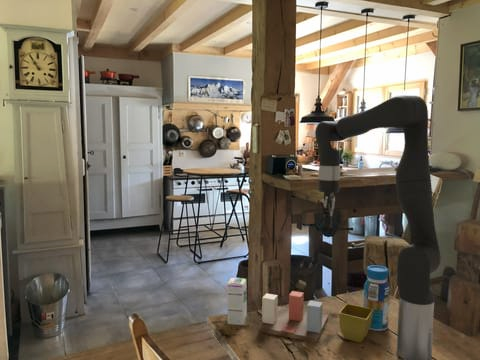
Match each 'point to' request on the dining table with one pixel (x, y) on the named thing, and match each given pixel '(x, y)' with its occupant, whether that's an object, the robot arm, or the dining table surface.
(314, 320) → the grey rectangular block
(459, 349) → the dining table surface
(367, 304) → the beverage bottle
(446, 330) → the dining table surface
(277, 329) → the brown wooden board
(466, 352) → the dining table surface
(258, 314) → the dining table surface
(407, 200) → the robot arm
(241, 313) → the syrup box
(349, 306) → the flower pot
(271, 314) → the cream rectangular block
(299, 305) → the red rectangular block
